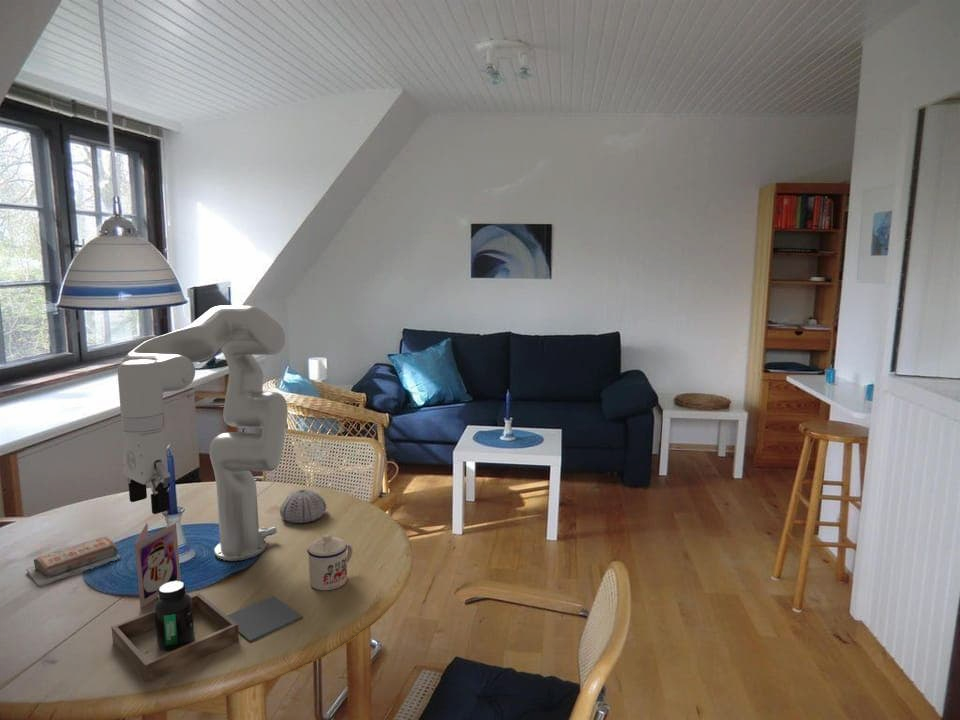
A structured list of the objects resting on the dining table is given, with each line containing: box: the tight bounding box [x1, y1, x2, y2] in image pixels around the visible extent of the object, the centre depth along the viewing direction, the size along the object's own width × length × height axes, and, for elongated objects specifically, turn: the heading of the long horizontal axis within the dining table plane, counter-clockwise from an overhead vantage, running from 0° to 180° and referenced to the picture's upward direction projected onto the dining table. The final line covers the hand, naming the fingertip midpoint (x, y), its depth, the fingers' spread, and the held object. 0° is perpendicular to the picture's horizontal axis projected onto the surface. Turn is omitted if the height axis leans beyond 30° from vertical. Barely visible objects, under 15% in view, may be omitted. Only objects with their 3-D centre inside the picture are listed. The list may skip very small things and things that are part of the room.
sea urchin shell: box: [279, 488, 327, 524], centre depth 190 cm, size 13×14×8 cm
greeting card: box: [134, 522, 182, 608], centre depth 147 cm, size 11×7×15 cm, turn 160°
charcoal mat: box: [226, 595, 304, 643], centre depth 138 cm, size 12×12×1 cm
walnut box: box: [111, 592, 240, 684], centre depth 130 cm, size 18×18×4 cm
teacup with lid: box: [306, 533, 354, 591], centre depth 154 cm, size 12×9×12 cm
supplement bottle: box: [153, 580, 195, 652], centre depth 129 cm, size 7×7×12 cm
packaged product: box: [26, 536, 122, 587], centre depth 160 cm, size 18×5×10 cm
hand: (149, 505), depth 130 cm, fingers open, 9 cm apart
